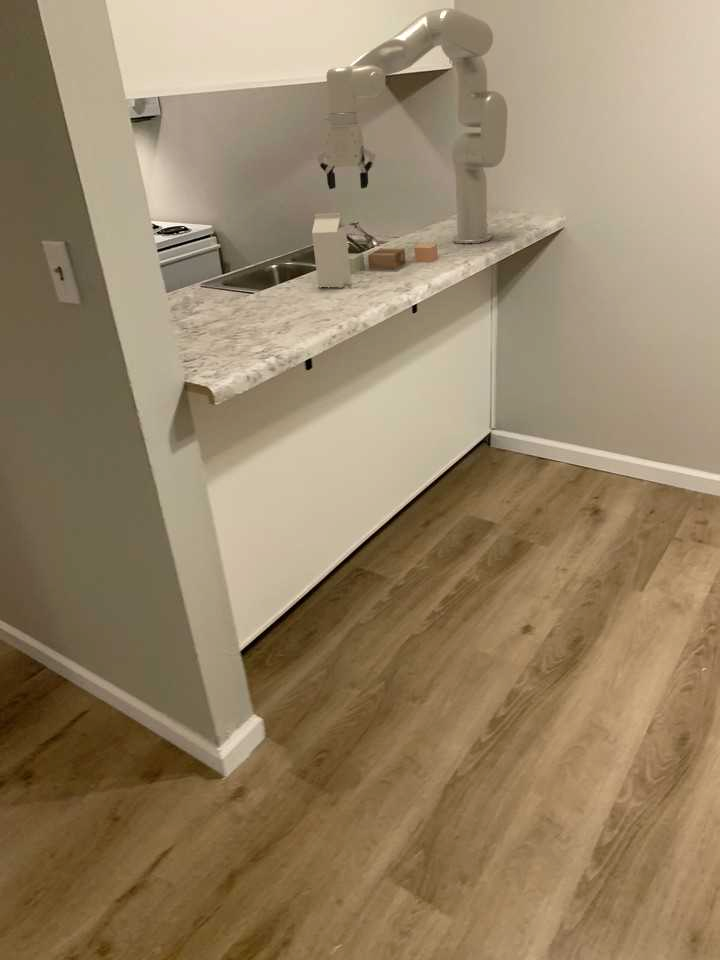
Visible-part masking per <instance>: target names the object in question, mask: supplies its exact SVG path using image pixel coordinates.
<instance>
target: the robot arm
mask: <svg viewBox="0 0 720 960" xmlns="http://www.w3.org/2000/svg"><path fill="white" fill-rule="evenodd" d="M493 43H494V35H493V31H492V28H491V27H490V25H489V24H488V23H487V22H485V21H484V20H482V19H480V18H477V17H475V16H473V15H470V14H468V13H465V12H464V11H461V10H458V9H456V8H452V7H445V8H440V9H435V10H429V11H426V12H424V13H423V14H421V15H419V16H418V17H417V18H416V19H415V20H413V21H412V22H411V23H410V24H408V25H407V26H406V27H404V28H403V29H402V30H401V31H399V32H398V33H396V35H394V36H392V37H391V38H389V39H387V40H385V41H384V42H382V43H381V44H379V45H377V46H376V47H374V48H372V49H370V50H369V51H367V52H365V53H364V54H362V55H361V56H359V57H358V58H356V59H355V60H354V61H353V62H351V63H350V64H349V65H348V66H347V67H344V66H343V67H333V68H330V69H328V70H327V72H326V89H327V91H326V92H327V102H328V103H327V104H328V115H327V116H324V121H325V122H326V123H328V124H329V126H327V127H326V134H325V136H326V137H325V150H324V151H323V152H322V153H321V154H320V153H319V155H317V156H316V160H317V162H318V164H319V166H320V168H321V169H322V170H323V171H324V173H325V174H326V179H327V181H326V182H327V183H326V184H327V186H328V189H329V190H332V189H335V188H337V187H336V174H335V172H333V171H334V169H336V167H355V166H357V167H358V169H360V171H361V172H360V173H359V179H360V180H359V181H360V189H365V188H368V185H369V171H370V170H371V168H372V167H373V166H374V163H375V160H376V157H377V154H376V153H374V152H373V151H371V150H369V149H366V148H365V144H364V137H363V132H362V127H361V125H360V124H359V123H358V122H359V121H358V105H357V98H358V99H359V98H373V97H376V96H377V95H379V94H381V93H382V92H383V91H384V88H385V86H386V77H387V76H389V75H392V74H396V73H399V72H402V71H405V70H406V69H408V68H410V67H412V66H413V65H414V64H415V63H417V62H418V61H419V60H421V58H423V57H425V55H426V54H428V53H429V52H430V51H432V50H433V49H434V48H436V47H438V46H440V48H441V49H442V51H443V53H444V56H446V57H447V58H448V59H449V60H450V61H451V63H452V65H453V67H454V68H455V70H456V73H457V83H458V84H457V85H458V86H457V119H458V122H459V124H460V125H461V126H463V127H466V128H471V129H472V128H478V129H480V132H465V133H462V134H460V135H459V136H457V137H456V138H455V139H454V141H453V143H452V146H451V157H452V162H453V167H454V174H455V175H454V176H455V192H456V193H455V196H456V197H455V200H456V201H455V202H456V231H457V232H456V233H457V234H456V235H453V236H452V242H453V243H455V242H456V243H457V244H462V243H465V244H467V243H468V245H469V243H472V244H479V243H480V242H481V243H484V241H485V242H488V240H489V241H491V240H492V239H491V238H492V237H493V234H491V233H490V232H488V226H489V222H488V218H487V217H488V214H487V213H488V211H487V210H488V206H487V205H488V201H487V200H488V199H487V190H488V189H487V188H488V187H487V186H488V184H487V175H486V171H485V169H486V168H495V167H497V166H499V165H500V164H501V163H502V161H503V159H504V157H505V154H506V148H507V147H506V145H507V131H508V130H507V129H508V105H507V102H506V100H505V97H504V96H503V95H502V94H501V93H500V92H498V91H493V90H492V91H491V90H489V91H488V70H487V65H486V63H485V61H484V58H483V56H485V55H486V54H487V53H488V52H489V51H490V50H491V48H492V46H493ZM366 157H368V162H367V163H365V162H366ZM325 159H326V160H325ZM325 161H326V162H325ZM484 168H485V169H484ZM490 239H491V240H490ZM456 243H455V244H456Z"/></svg>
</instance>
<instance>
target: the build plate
mask: <svg viewBox="0 0 720 960" xmlns="http://www.w3.org/2000/svg"><path fill="white" fill-rule="evenodd" d="M405 262H406V263H404V264H403V265H401V266H399V267H397V268H396V269H394V270H388V269H369V265H367V266H366V267H365V266H364V268H363V269H362V270H360V271H362V272H368V271H369V272H387V273H388V272H393V273H398V272H400V271H401V270H403V269H404V268H406V267H407V266H410V265H411V264H413V263H414V262H415V261H414V260H413V261H412V260H405ZM360 271H359V272H360Z"/></svg>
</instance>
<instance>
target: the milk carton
mask: <svg viewBox="0 0 720 960" xmlns="http://www.w3.org/2000/svg"><path fill="white" fill-rule="evenodd" d="M346 229H347V227H346V225H345V223H344V221H343V219H342V218H341V213H340V212H337V213H316V214H314V222H313V227H312V230H311V234H312V235H311V236H312V245H313V252H314V259H315V268H316V278H317V285H318V286H317V287H318V288H319V287H320V288H319V289H322V288H321V287H328V288H327V289H330V288H329V287H343V288H344V287H345V285H346V284H347V282H349V281H350V280H351V279H352V278H351V273H350V266H349V256H348V253H349V248H348V247H349V246H348V236H347V230H346ZM346 286H347V285H346Z"/></svg>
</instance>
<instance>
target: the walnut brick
mask: <svg viewBox="0 0 720 960" xmlns="http://www.w3.org/2000/svg"><path fill="white" fill-rule="evenodd" d="M367 260H368V266H369V269H388V270H394V269H396V268H397V267H399V266H401V265H403V264H404V263H406V262H405V261H406V251H405V248H378V249H376V250H375V251H373V252H370V253H369V254H367Z"/></svg>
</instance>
